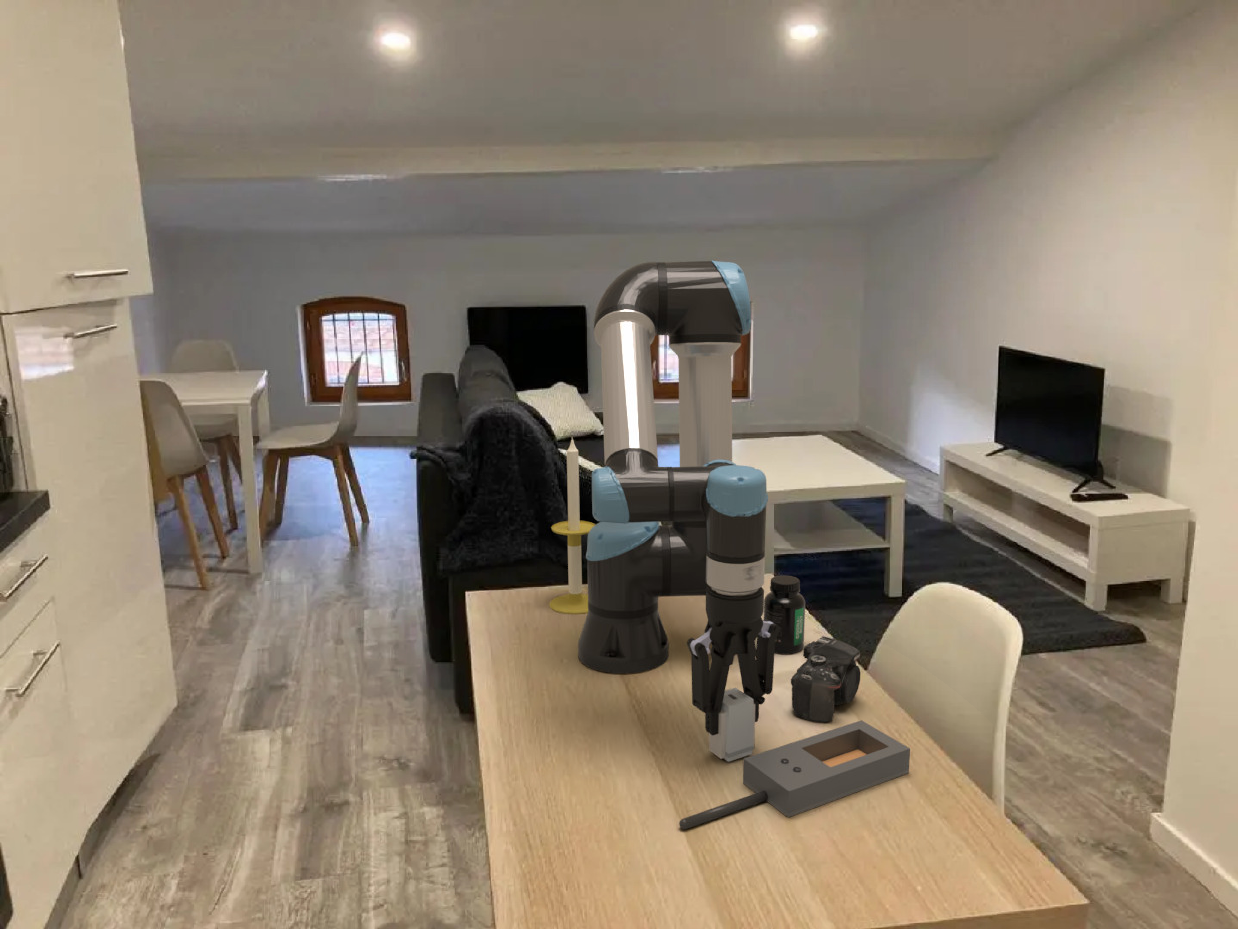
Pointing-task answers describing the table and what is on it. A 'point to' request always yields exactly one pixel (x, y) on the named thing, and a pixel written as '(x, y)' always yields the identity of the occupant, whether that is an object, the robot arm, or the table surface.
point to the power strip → (816, 771)
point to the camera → (825, 679)
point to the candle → (573, 542)
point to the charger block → (738, 724)
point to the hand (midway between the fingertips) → (731, 748)
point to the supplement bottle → (786, 613)
